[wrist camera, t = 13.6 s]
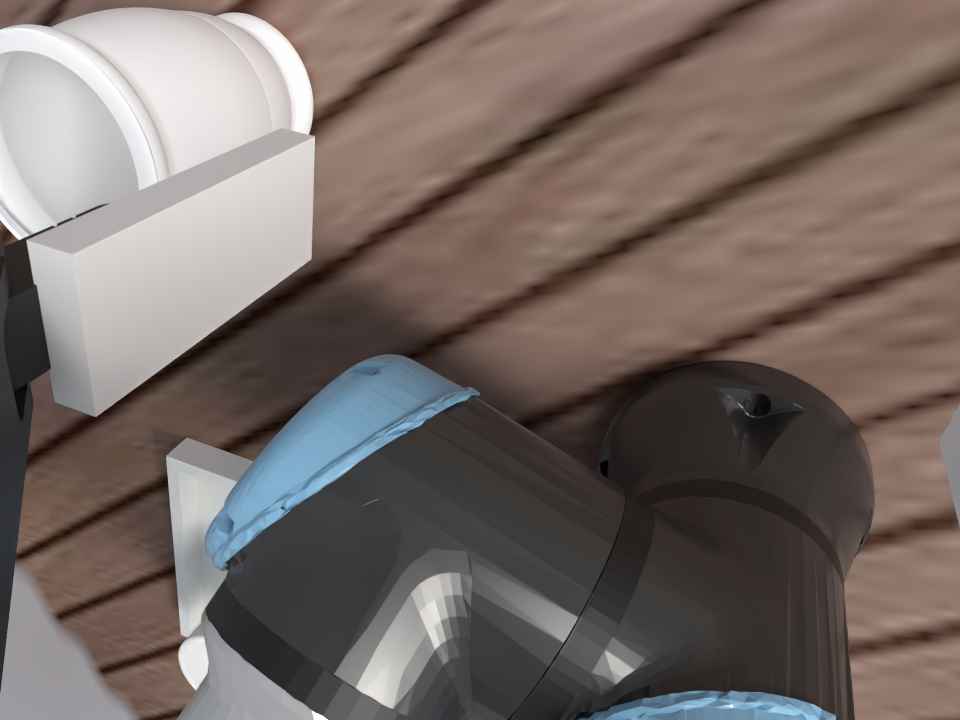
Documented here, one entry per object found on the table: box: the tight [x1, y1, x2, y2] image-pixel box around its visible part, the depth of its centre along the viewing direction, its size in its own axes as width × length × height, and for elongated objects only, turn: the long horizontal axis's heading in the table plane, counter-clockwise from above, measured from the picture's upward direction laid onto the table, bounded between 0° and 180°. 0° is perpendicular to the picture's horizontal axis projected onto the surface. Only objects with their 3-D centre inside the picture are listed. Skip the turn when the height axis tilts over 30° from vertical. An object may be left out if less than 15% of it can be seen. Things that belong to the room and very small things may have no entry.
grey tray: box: [166, 438, 253, 637], centre depth 64 cm, size 20×20×2 cm
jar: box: [0, 7, 313, 240], centre depth 40 cm, size 11×10×15 cm
